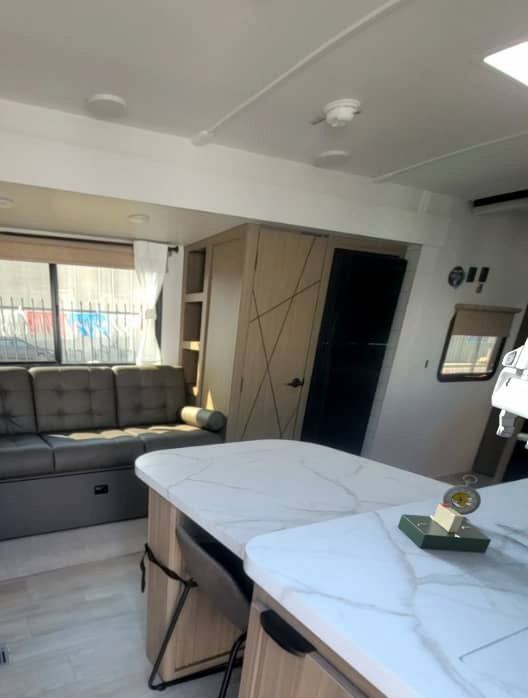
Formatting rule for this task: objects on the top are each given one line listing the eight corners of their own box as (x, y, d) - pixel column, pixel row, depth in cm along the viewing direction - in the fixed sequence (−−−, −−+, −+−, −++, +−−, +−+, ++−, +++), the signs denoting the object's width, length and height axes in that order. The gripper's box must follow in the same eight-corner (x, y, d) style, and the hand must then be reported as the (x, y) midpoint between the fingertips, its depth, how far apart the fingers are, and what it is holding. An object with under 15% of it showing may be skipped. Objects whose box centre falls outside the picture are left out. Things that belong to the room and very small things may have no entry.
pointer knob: (457, 532, 78) (464, 515, 76) (448, 532, 78) (455, 514, 76) (440, 520, 83) (447, 503, 81) (432, 519, 83) (438, 502, 81)
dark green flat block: (455, 530, 86) (460, 516, 84) (486, 554, 77) (493, 539, 75) (396, 526, 86) (401, 512, 85) (420, 549, 78) (426, 534, 76)
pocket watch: (439, 525, 87) (457, 482, 83) (425, 510, 95) (440, 469, 90) (482, 531, 86) (502, 487, 81) (464, 515, 93) (482, 474, 89)
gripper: (629, 367, 56) (578, 462, 62) (540, 356, 74) (507, 431, 80) (574, 364, 57) (530, 458, 63) (500, 354, 75) (471, 427, 81)
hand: (517, 442), depth 72 cm, fingers open, 8 cm apart
